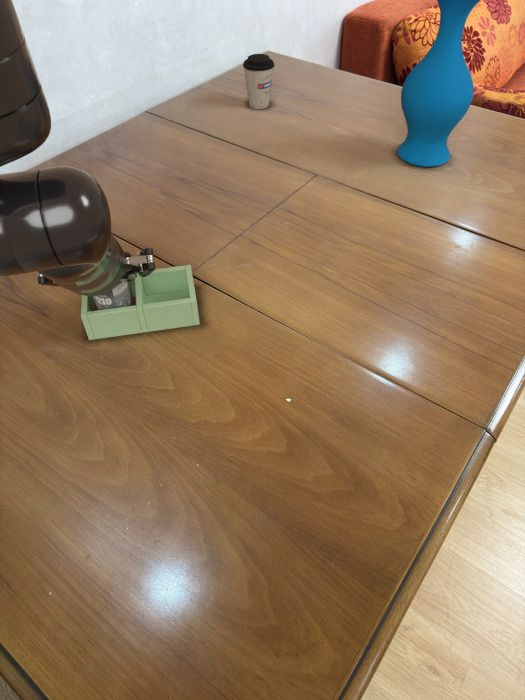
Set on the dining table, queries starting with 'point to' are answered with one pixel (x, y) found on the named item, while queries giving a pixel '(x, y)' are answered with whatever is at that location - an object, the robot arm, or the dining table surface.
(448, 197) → the dining table surface
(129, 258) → the robot arm
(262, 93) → the coffee cup
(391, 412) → the dining table surface
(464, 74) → the vase
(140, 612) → the dining table surface
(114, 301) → the pill bottle
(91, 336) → the holder
